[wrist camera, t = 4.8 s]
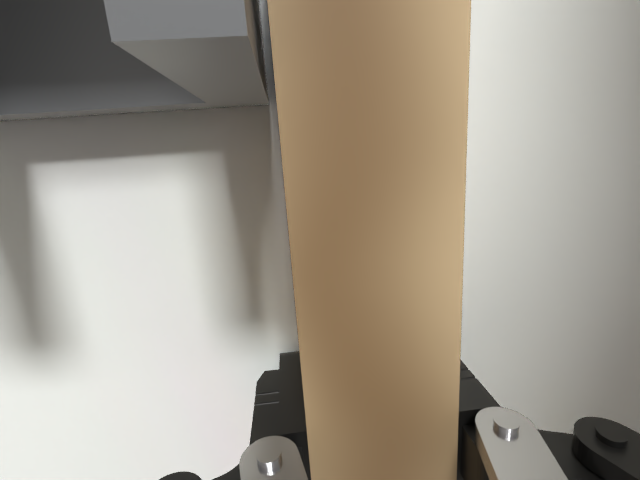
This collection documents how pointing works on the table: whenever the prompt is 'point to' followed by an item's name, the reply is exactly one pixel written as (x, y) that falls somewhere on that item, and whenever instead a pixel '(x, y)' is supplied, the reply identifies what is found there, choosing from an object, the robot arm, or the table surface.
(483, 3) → the table surface
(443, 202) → the light brown wooden beam
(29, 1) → the cap
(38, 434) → the table surface
